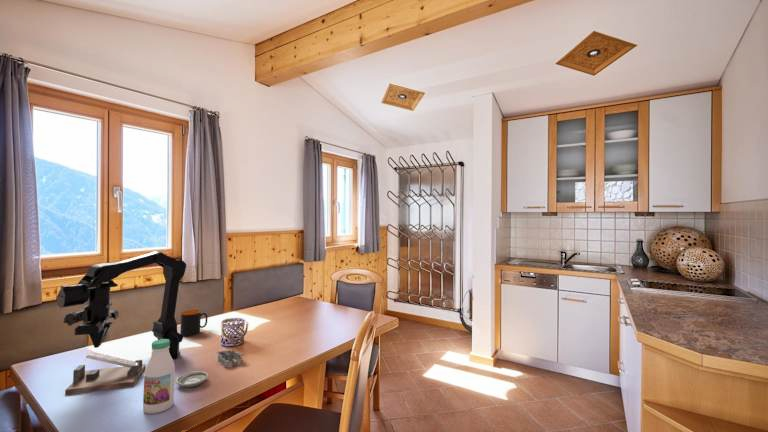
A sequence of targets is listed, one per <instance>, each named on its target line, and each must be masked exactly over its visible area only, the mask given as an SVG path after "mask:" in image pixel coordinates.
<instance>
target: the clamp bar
mask: <svg viewBox="0 0 768 432" xmlns="http://www.w3.org/2000/svg"><path fill="white" fill-rule="evenodd" d="M85 358H86V359H90V360H94V361H98V362H103V363H108V364H111V365H116V366H119V367H129V368H131V366H132V365H140V362H135V361H133V360H129V359H125V358H121V357H116V356H112V355H109V354H104V353H100V352H94V351H90V352H89V353H87V355H86V356H85Z"/></svg>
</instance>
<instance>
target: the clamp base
mask: <svg viewBox="0 0 768 432" xmlns="http://www.w3.org/2000/svg"><path fill="white" fill-rule="evenodd" d="M134 362H140V365H132V366H131V368H129V367H124V366H116V367H115V366H114V367H108V368H107V367H105V368H99V369H89V370H88V369H87V370H86V364H80V365H79V364H78V366H76V367H75V369H74V370H73V373H72V376H73V377H72V383H71V384H69V386H68V387H67V388H65V390H64V394H65V395H72V394H80V393H88V392H89V393H90V392H95V391H103V390H104V391H105V390H111V389H113V390H114V389H120V388H121V389H122V388H127V387H133V386H135V384H136V383H137V381H138V379H139V378H140V377H141V376H142V374H143V372H145V369H146V366H147V363H143V359H136V360H135V361H134Z"/></svg>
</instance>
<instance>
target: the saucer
mask: <svg viewBox="0 0 768 432" xmlns="http://www.w3.org/2000/svg"><path fill="white" fill-rule="evenodd" d="M208 377H209V373H208V372H206V371H201V370H196V371H195V370H194V371H188V372H186V373H182V374H181V375H180V376H178V377H176V379H175V383H176V384H177V385H179V386H180V387H184V388H193V387H197V386H199V385H200V384H203V382H205V381H206V379H208Z"/></svg>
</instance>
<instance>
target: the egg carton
mask: <svg viewBox="0 0 768 432" xmlns="http://www.w3.org/2000/svg"><path fill="white" fill-rule="evenodd" d="M216 354H217V362H218V363H220V365H223V368H232V367H233V366H236V365H237V366H240V365H241V364H242V362H243V356H244V354H243V352H238V351H235V350H234V349H232V350H230V349H228V350H222V351H217V352H216ZM232 357H233V359H232Z"/></svg>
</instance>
